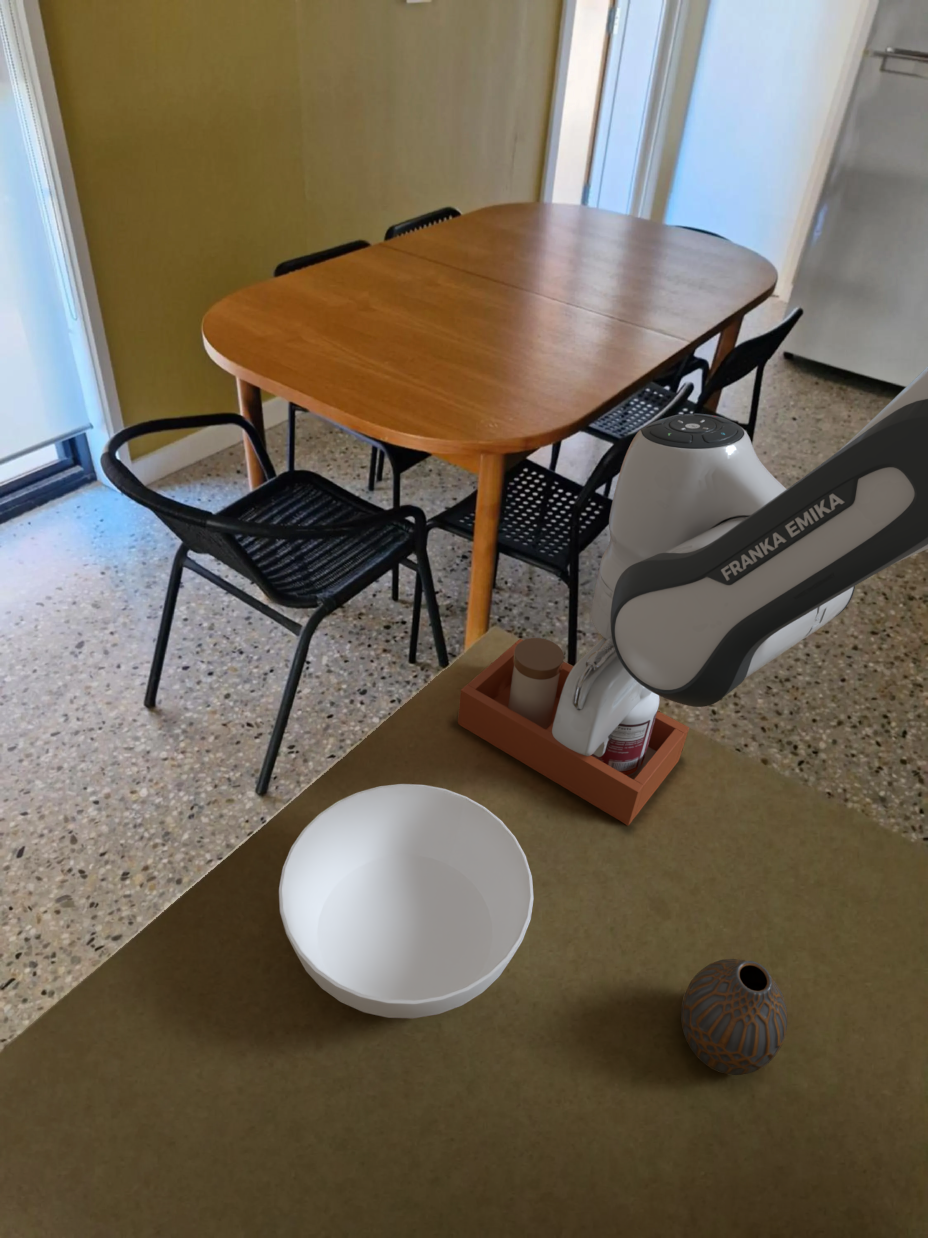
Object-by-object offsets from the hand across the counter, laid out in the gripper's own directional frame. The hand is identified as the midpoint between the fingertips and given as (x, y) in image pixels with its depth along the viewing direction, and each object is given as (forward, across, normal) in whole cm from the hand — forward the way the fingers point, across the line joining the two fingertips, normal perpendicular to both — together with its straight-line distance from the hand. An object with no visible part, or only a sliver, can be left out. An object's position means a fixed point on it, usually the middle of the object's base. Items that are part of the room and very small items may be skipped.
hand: (617, 725), depth 80 cm
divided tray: (+6, 0, +5) cm, 7 cm away
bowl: (+6, -26, +3) cm, 26 cm away
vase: (+6, -18, -19) cm, 27 cm away
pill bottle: (+4, 0, 0) cm, 4 cm away
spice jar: (+5, 0, +9) cm, 10 cm away
